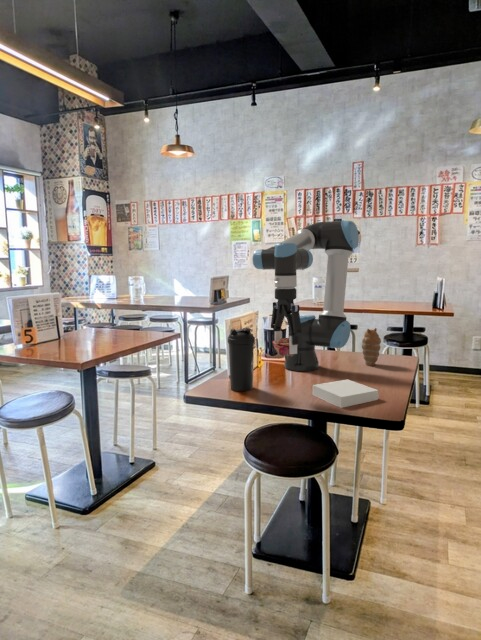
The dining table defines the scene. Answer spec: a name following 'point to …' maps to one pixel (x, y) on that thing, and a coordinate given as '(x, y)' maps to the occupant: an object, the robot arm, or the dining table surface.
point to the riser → (344, 393)
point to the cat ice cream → (371, 347)
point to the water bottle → (241, 359)
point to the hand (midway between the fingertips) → (285, 351)
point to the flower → (282, 347)
